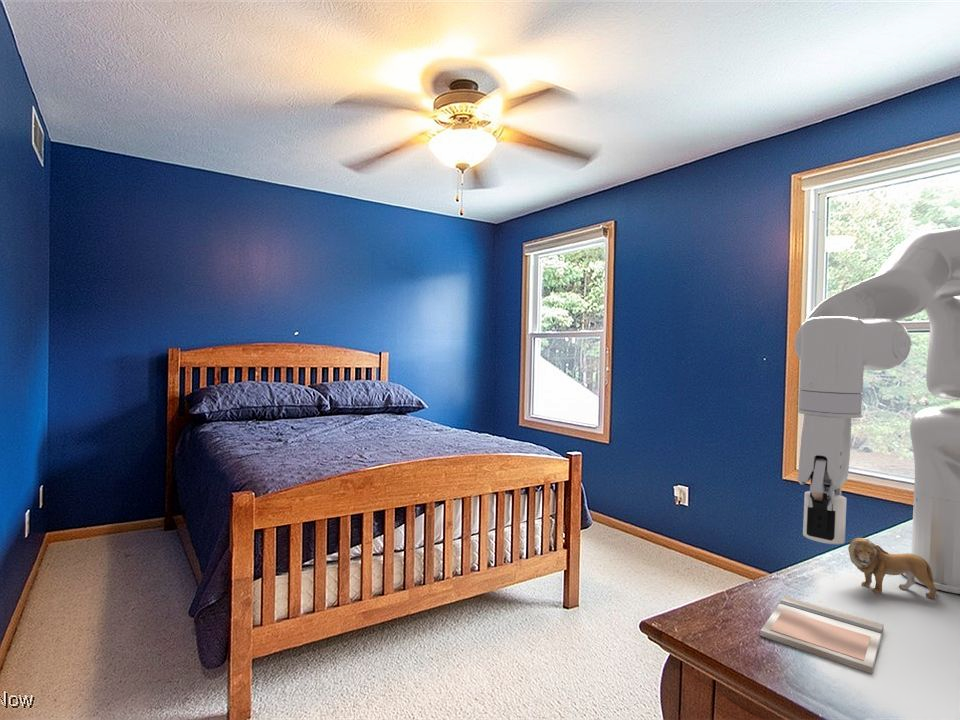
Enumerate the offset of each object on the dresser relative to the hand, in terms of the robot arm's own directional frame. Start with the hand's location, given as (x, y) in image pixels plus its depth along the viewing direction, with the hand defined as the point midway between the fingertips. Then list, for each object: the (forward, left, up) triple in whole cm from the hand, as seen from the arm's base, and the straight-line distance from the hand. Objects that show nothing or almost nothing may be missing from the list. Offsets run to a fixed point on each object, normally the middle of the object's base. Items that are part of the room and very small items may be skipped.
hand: (824, 531), depth 76 cm
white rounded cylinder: (0, 0, -1) cm, 1 cm away
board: (-3, 0, -15) cm, 16 cm away
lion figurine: (-27, +6, -16) cm, 32 cm away
